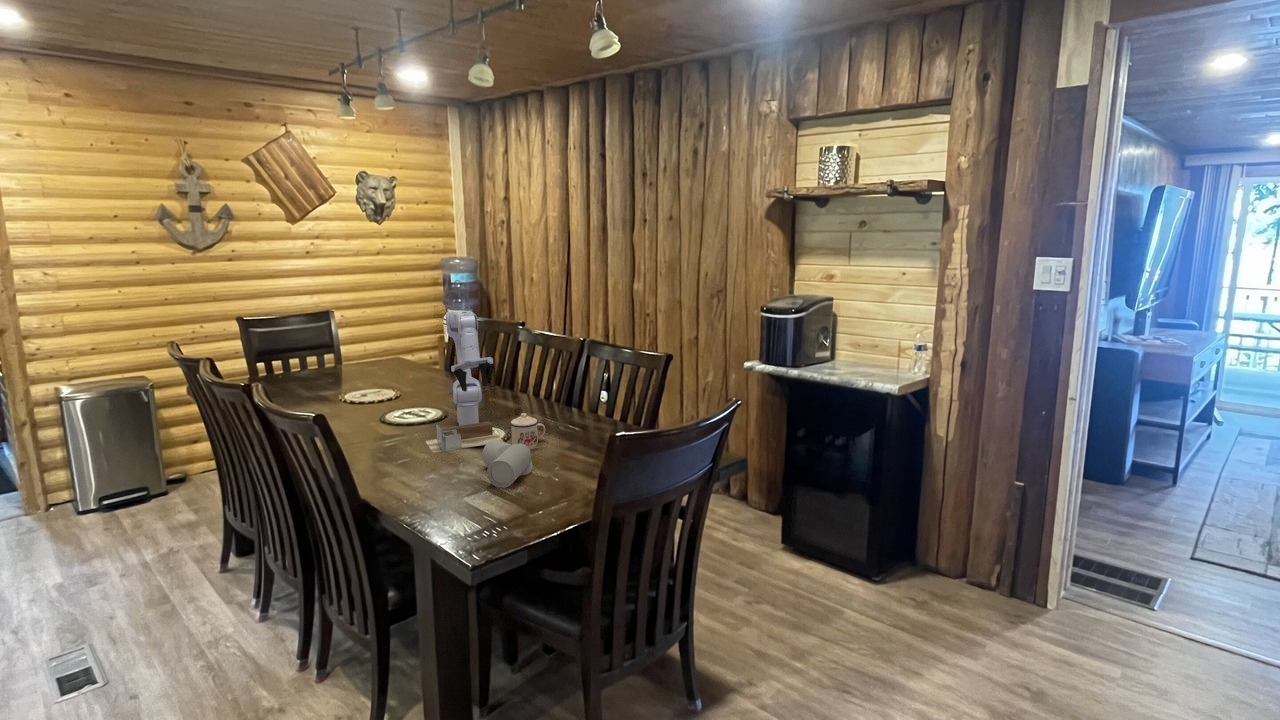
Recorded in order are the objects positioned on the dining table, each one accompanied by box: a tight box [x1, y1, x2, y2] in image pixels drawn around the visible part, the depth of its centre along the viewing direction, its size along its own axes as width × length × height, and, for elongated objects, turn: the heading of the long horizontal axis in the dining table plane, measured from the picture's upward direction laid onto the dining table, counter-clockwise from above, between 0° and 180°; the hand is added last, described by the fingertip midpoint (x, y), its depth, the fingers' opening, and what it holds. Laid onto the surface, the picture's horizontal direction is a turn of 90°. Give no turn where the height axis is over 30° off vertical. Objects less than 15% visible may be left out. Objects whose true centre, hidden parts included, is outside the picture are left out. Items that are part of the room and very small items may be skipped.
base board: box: [424, 430, 505, 454], centre depth 240 cm, size 14×24×1 cm, turn 117°
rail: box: [441, 421, 494, 440], centre depth 244 cm, size 4×17×4 cm, turn 117°
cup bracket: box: [435, 424, 462, 452], centre depth 234 cm, size 8×6×7 cm
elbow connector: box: [481, 440, 533, 489], centre depth 210 cm, size 18×10×20 cm
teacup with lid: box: [510, 412, 546, 451], centre depth 236 cm, size 12×9×12 cm
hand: (474, 388), depth 232 cm, fingers open, 7 cm apart
